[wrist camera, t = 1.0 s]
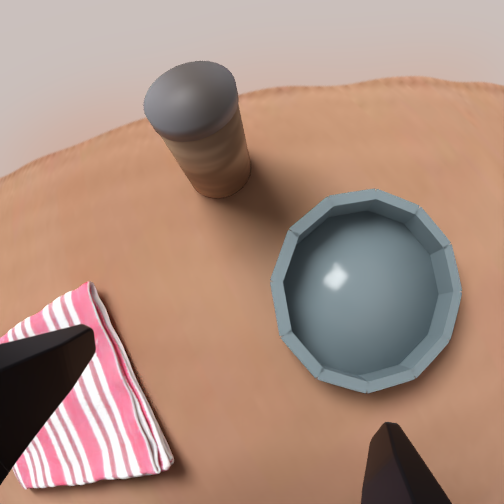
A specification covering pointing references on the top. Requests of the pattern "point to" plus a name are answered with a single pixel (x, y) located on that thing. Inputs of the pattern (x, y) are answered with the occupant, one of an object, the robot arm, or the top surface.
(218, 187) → the walnut jar
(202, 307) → the top surface
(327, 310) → the bowl
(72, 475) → the dish towel
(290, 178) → the top surface
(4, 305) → the top surface
